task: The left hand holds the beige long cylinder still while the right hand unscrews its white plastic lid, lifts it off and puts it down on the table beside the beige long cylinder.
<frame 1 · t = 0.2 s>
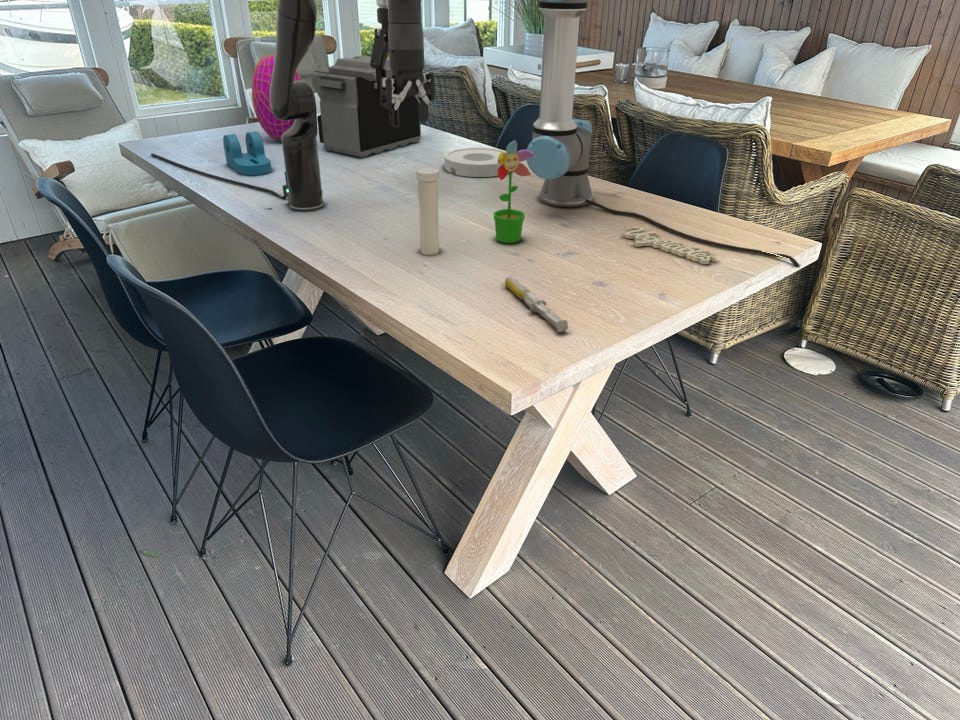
left hand: (409, 124, 155), 29 cm above the table, tool pointing down, fingers open, 8 cm apart
right hand: (395, 90, 196), 29 cm above the table, tool pointing down, fingers open, 13 cm apart
decorative sign: (664, 248, 171), on the table
portable cooler box: (371, 146, 258), on the table
syringe: (534, 308, 141), on the table
camera mount: (251, 168, 229), on the table
potted flower: (509, 239, 175), on the table
lid: (427, 172, 157), point 19 cm above the table, screwed on, not yet turned
white round base: (478, 168, 233), on the table
decorative egg: (284, 140, 265), on the table
beige long cylinder: (429, 251, 167), on the table
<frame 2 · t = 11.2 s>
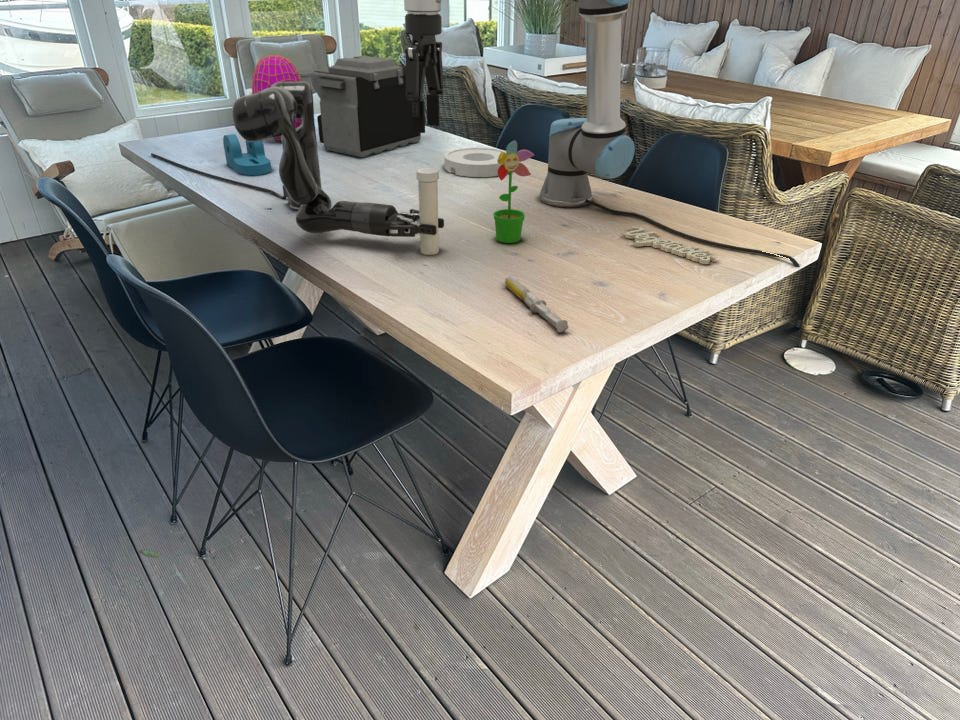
left hand: (439, 226, 163), 7 cm above the table, tool horizontal, fingers closed on beige long cylinder, 4 cm apart
right hand: (426, 128, 152), 29 cm above the table, tool pointing down, fingers open, 7 cm apart
beige long cylinder: (429, 251, 167), on the table, touching left hand
everything else where it was.
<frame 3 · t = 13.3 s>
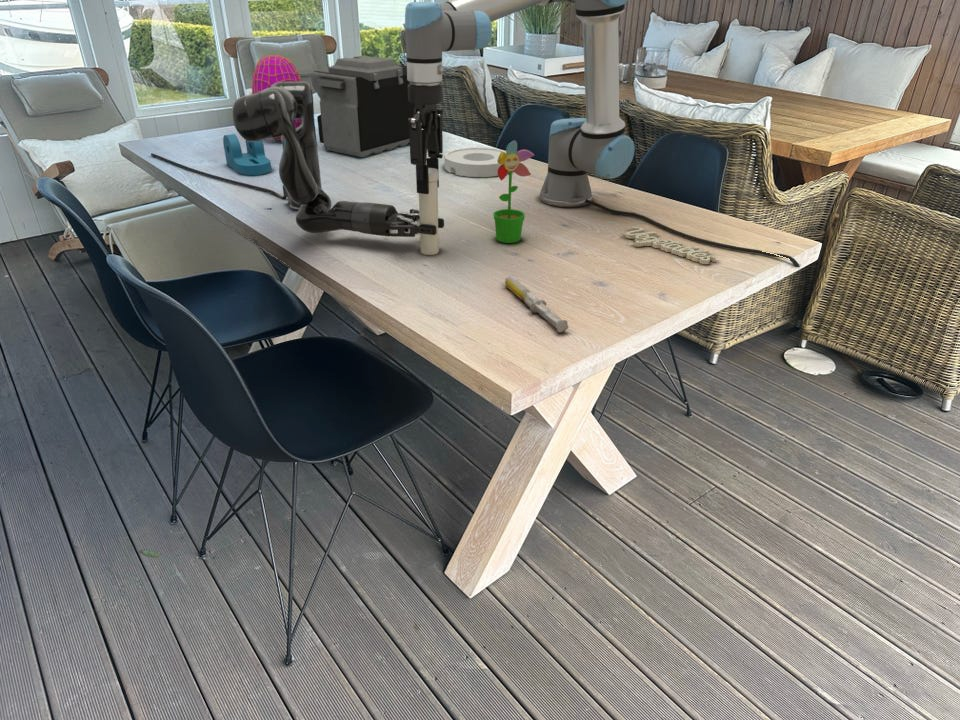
left hand: (439, 226, 163), 7 cm above the table, tool horizontal, fingers closed on beige long cylinder, 4 cm apart
right hand: (428, 189, 159), 15 cm above the table, tool pointing down, fingers closed on lid, 5 cm apart
lid: (427, 172, 157), point 19 cm above the table, screwed on, not yet turned, touching right hand
beige long cylinder: (429, 251, 167), on the table, touching left hand
everything else where it was.
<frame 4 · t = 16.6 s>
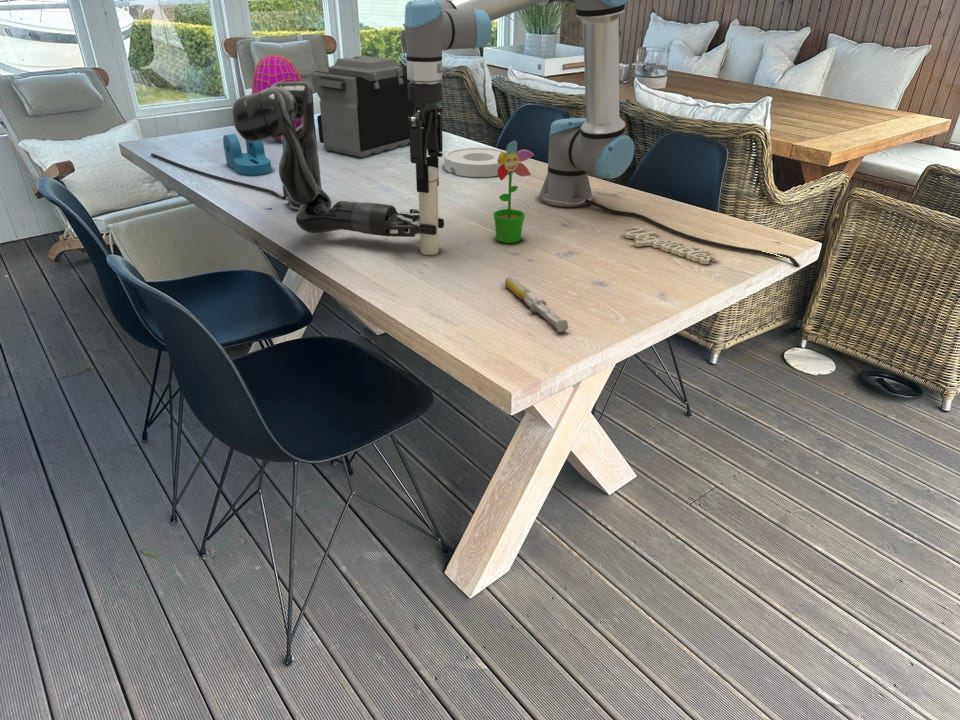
left hand: (439, 226, 163), 7 cm above the table, tool horizontal, fingers closed on beige long cylinder, 4 cm apart
right hand: (427, 188, 159), 16 cm above the table, tool pointing down, fingers closed on lid, 5 cm apart
lid: (427, 170, 157), point 20 cm above the table, turned 104° so far, risen 0.3 cm, still on its thread, touching right hand
beige long cylinder: (429, 251, 167), on the table, touching left hand
everything else where it was.
when the right hand's fingers open (0 cm above the table, at t = 25.1 s): lid drops 2 cm, point 2 cm above the table.
when the left hand's fingers open (7 cm above the table, at t = 25.8 s): beige long cylinder stays where it is, on the table.
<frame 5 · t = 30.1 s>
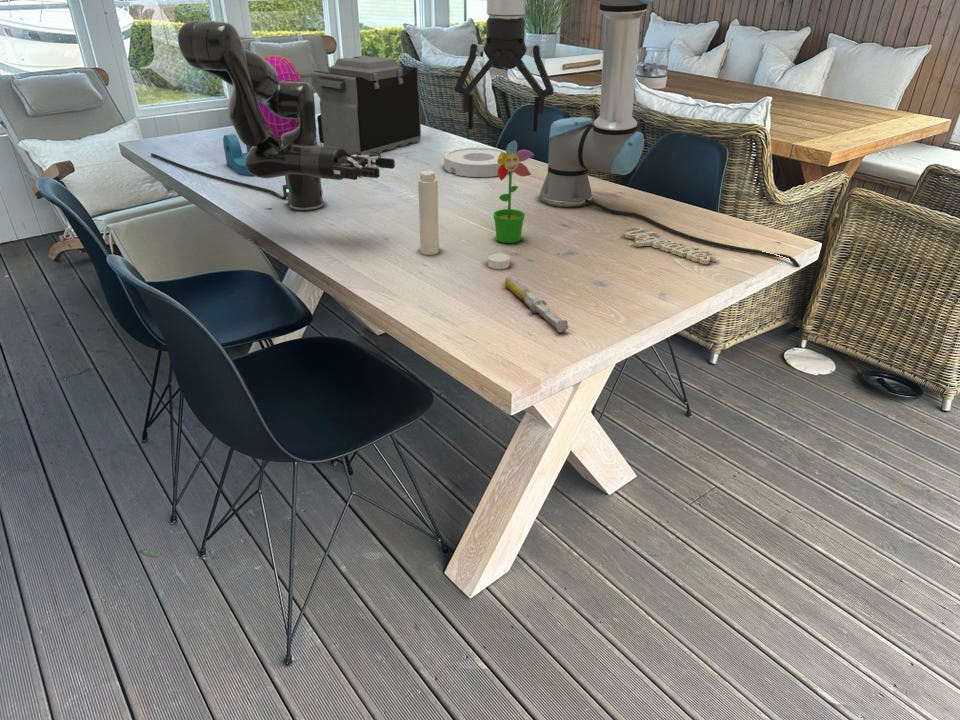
left hand: (386, 168, 160), 19 cm above the table, tool horizontal, fingers open, 8 cm apart
right hand: (502, 129, 145), 31 cm above the table, tool pointing down, fingers open, 13 cm apart
lid: (499, 258, 159), point 2 cm above the table, off its thread
beige long cylinder: (429, 251, 167), on the table
everything else where it was.
at the end: lid came off its thread; lid point 1.6 cm above the table; the left hand is holding nothing; the right hand is holding nothing; beige long cylinder tilted 0°; beige long cylinder moved 0.0 cm from its start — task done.
